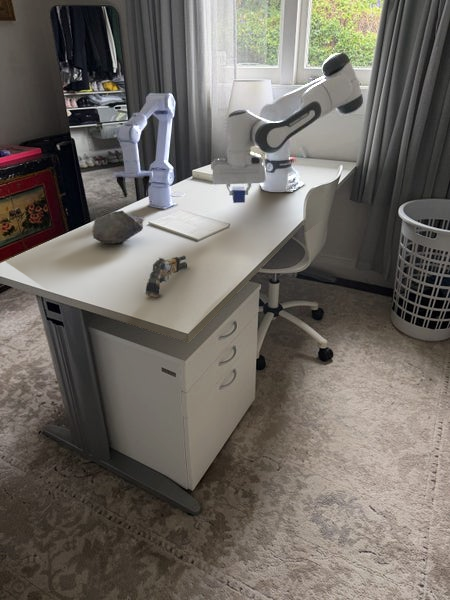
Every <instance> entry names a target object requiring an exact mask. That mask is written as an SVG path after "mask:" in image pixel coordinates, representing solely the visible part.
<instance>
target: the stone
mask: <svg viewBox="0 0 450 600" xmlns="http://www.w3.org/2000/svg"><path fill="white" fill-rule="evenodd" d="M143 223H144V218H143V217H141V216H135V215H133V214H129V213H127V212H124V210H119V211H111V212H109V213H107V214H105V215H101V216H100V217H99V216H97V217H95V219H94V222H93V228H92V230H91V231H92V236H93V239H94V240H96V241H98V242H100V243H108V244H119V243H124V242H126V241H128V240H129V239H130V238H132V237H134V236H135V235H137V234H139V233H140V232H142V231H143V229H144V225H143Z"/></svg>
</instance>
